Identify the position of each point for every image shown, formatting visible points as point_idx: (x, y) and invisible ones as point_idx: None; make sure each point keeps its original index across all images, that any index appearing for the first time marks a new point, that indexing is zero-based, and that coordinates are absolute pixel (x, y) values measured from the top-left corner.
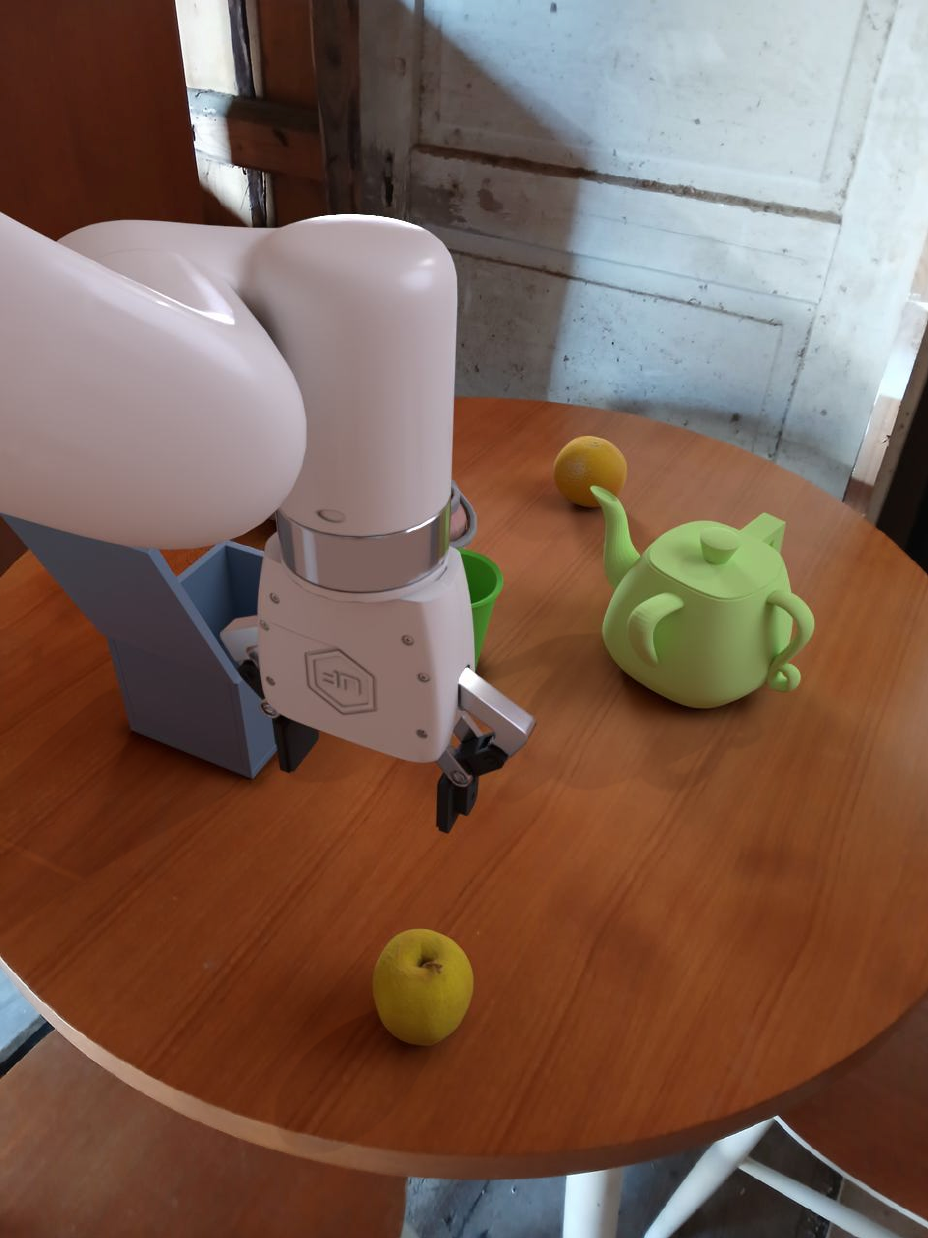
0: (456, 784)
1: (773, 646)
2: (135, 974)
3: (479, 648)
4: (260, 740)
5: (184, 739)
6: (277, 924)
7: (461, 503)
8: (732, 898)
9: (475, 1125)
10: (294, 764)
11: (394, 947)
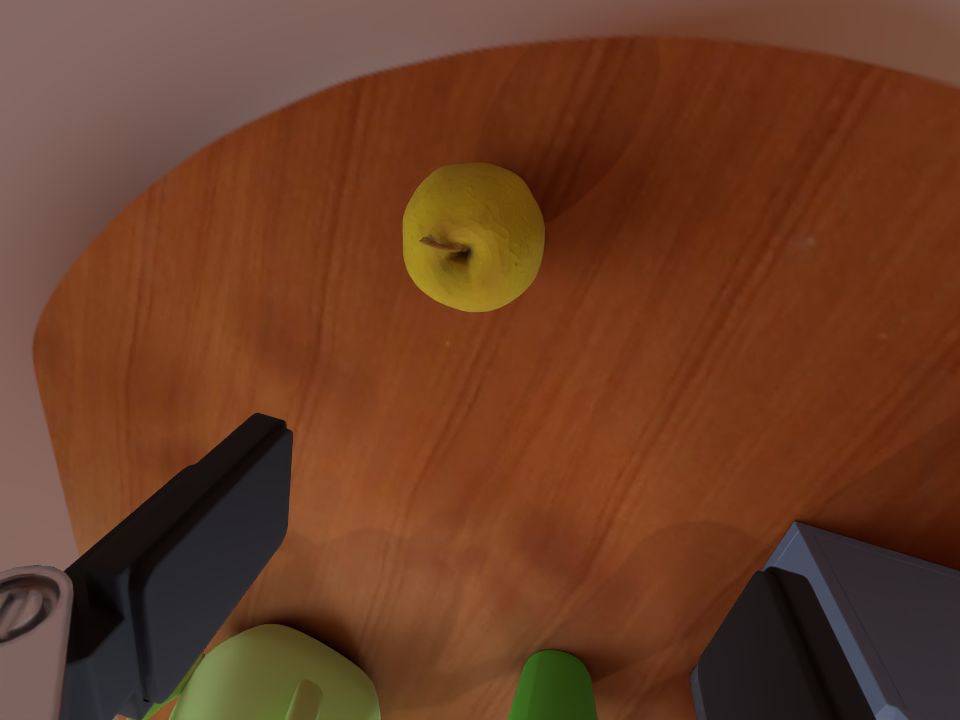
0: (58, 575)
1: (175, 707)
2: (928, 207)
3: (511, 708)
4: None
5: (924, 577)
6: (712, 317)
7: None
8: (199, 417)
9: (395, 97)
10: (760, 597)
11: (508, 268)
